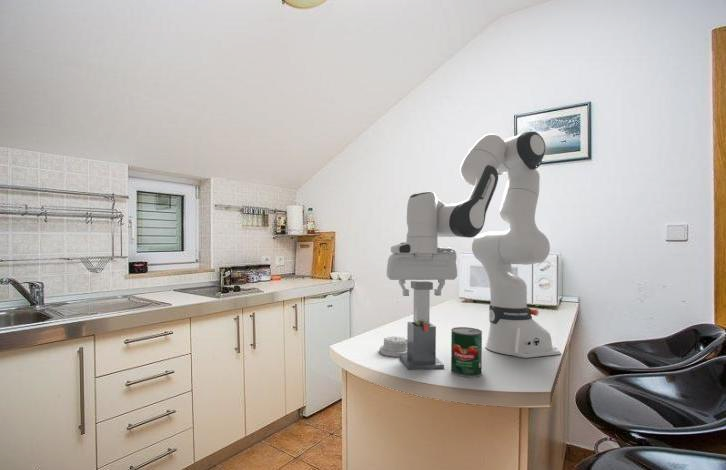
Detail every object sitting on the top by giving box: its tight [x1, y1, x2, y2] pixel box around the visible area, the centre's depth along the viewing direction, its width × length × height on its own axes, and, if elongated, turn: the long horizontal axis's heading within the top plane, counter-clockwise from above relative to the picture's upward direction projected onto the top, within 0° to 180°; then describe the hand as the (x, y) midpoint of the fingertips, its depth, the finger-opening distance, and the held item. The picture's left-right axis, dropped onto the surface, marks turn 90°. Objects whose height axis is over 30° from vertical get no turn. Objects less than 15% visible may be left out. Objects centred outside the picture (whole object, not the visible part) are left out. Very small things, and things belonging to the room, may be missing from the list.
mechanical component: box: [379, 336, 407, 358], centre depth 110 cm, size 10×4×10 cm
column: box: [410, 280, 434, 326], centre depth 100 cm, size 5×5×17 cm
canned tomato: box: [450, 326, 483, 378], centre depth 93 cm, size 8×8×11 cm
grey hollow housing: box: [399, 321, 445, 371], centre depth 100 cm, size 10×10×12 cm
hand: (421, 295), depth 100 cm, fingers open, 8 cm apart
